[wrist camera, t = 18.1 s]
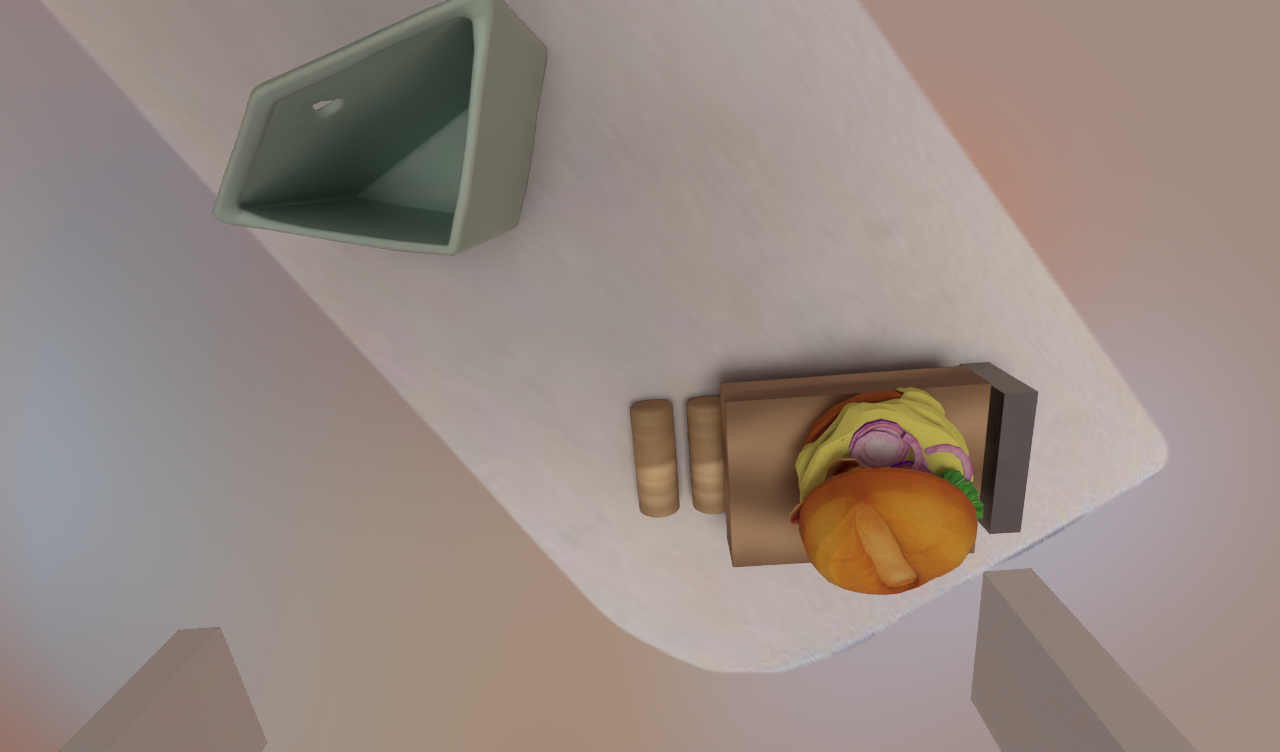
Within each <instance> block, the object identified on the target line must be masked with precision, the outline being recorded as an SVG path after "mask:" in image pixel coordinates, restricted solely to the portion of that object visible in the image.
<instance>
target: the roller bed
mask: <svg viewBox="0 0 1280 752" xmlns="http://www.w3.org/2000/svg"><path fill="white" fill-rule="evenodd" d="M686 405H687V421H688V436H689V451H690V466H691V482H692V497H693V506H694V508H695V509H696V510H698V511H700V512H702V513H707V514H718V513H723V512H726V502H725V480H724V459H723V437H722V416H721V397H719V396H701V397H696V398H693V399H691V400H689V401H688V402H687V404H686ZM630 414H631V424H632V435H633V445H634V455H635V466H636V476H637V486H638V497H639V507H640V511H641V512H642V513H643V514H644V515H646V516H650V517H666V516H669V515H672V514H674V513H675V512H676V511H677V510H678V509H679V507H680V504H679V490H678V477H677V463H676V449H675V436H674V422H673V408H672V404H671V403H670V402H668V401H664V400H645V401H641V402H638V403H636V404H634V405H632V406H631V408H630Z"/></svg>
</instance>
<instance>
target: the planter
mask: <svg viewBox="0 0 1280 752" xmlns="http://www.w3.org/2000/svg"><path fill="white" fill-rule="evenodd" d="M546 59H547V50H546V46H545V44H544V43H543V42H542V41H541V40H540V39H539V38H538V37H537V36H536V35H535V34H534V33H533V32H532V31H531V29H530V28H529V27H528V26H527V25H526V24H525V23H524V22H523V21H522V20H521V19H520V18H519V17H518V16H517V15H516V14H515V12H514V11H513V10H512V9H511V8H510V7H509V6H508V5H507V4H506V3H505V2H504V1H503V0H446V1H444V2H442V3H439V4H437V5H435V6H432V7H430V8H428V9H425V10H423V11H421V12H419V13H416V14H414V15H412V16H410V17H407V18H405V19H403V20H401V21H399V22H397V23H394V24H392V25H390V26H388V27H386V28H384V29H381V30H379V31H377V32H375V33H373V34H371V35H369V36H366V37H364V38H362V39H360V40H358V41H356V42H354V43H351V44H349V45H347V46H345V47H342V48H340V49H338V50H336V51H333V52H331V53H329V54H327V55H325V56H323V57H320V58H318V59H316V60H314V61H311V62H309V63H307V64H304V65H302V66H300V67H298V68H295V69H293V70H291V71H289V72H286V73H284V74H282V75H279V76H277V77H275V78H272V79H270V80H268V81H266V82H264V83H262V84H260V85H258V86H257V87H255V88H254V89H253V91H252V92H251V94H250V97H249V100H248V103H247V107H246V110H245V114H244V117H243V120H242V124H241V127H240V130H239V133H238V136H237V139H236V142H235V145H234V148H233V151H232V154H231V157H230V159H229V162H228V165H227V168H226V171H225V173H224V176H223V179H222V183H221V186H220V189H219V192H218V196H217V199H216V201H215V204H214V208H213V214H214V216H215V217H216V218H217V219H218V220H219V221H221V222H224V223H227V224H232V225H238V226H244V227H252V228H259V229H266V230H272V231H278V232H284V233H291V234H297V235H303V236H309V237H315V238H321V239H327V240H333V241H338V242H344V243H350V244H357V245H363V246H370V247H376V248H382V249H389V250H395V251H405V252H416V253H427V254H438V255H449V256H454V255H456V254H459V253H461V252H463V251H465V250H467V249H469V248H472V247H474V246H476V245H478V244H480V243H483V242H485V241H487V240H489V239H491V238H493V237H495V236H497V235H500V234H502V233H504V232H506V231H508V230H510V229H512V228H514V227H516V226H517V224H518V220H519V216H520V212H521V208H522V204H523V199H524V195H525V191H526V187H527V182H528V175H529V169H530V162H531V156H532V149H533V141H534V134H535V126H536V118H537V111H538V105H539V100H540V94H541V88H542V83H543V77H544V71H545V66H546ZM333 99H334V100H333ZM330 100H333V101H332V102H331V103H329V104H328V105H326V106H325V107H323V108H320V109H317V110H315V109H314V108H313V106H312V105H314V104H316V103H318V102H320V101H330Z"/></svg>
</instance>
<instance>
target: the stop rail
mask: <svg viewBox="0 0 1280 752" xmlns="http://www.w3.org/2000/svg"><path fill="white" fill-rule="evenodd" d="M960 366H965V367H967V368H968V369H970V370H971V371H973V372H974V373H976V374H978V375H979V376H981V377H982V378H984V379H985V380H987V381H988V382H990V383H991V392H990V402H989V411H988V421H987V431H986V441H985V451H984V461H983V471H982V481H981V490H980V501H981V502H982V503H983V504H984V507H983V518H979V519H978V522H979V523H980V524H981V525H982V526H983V527H984V528H985V529H986V530H987V532H988V533H989V534H996V533H1013V532H1020V531H1021V523H1022V515H1023V507H1024V499H1025V491H1026V483H1027V476H1028V468H1029V460H1030V452H1031V444H1032V436H1033V428H1034V421H1035V413H1036V405H1037V397H1038V391H1036V390H1034V389H1033V388H1031V387H1029V386H1028V385H1026V384H1024V383H1023V382H1021V381H1019V380H1018V379H1016V378H1014V377H1013V376H1011V375H1009V374H1008V373H1006V372H1004V371H1002V370H1001V369H999V368H997V367H996V366H994V365H992V364H991V363H989V362H987V363H973V364H960Z"/></svg>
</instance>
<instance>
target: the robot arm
mask: <svg viewBox="0 0 1280 752" xmlns="http://www.w3.org/2000/svg"><path fill="white" fill-rule="evenodd" d="M971 700H972V702H973V704H974V705H975V707H976V709H977V710H978V712H979V714H980V715H981V717H982V719H983V721H984V722H985V724H986V726H987V728H988V729H989V731H990V733H991V734H992V736H993V738H994V739H995V741H996V743H997V744H998V746H999V748H1000V750H1001V752H1198V751H1197V750H1196V749H1195V748H1194V747H1193V746H1192V744H1191V743H1190V742H1189V741H1188V740H1187V739H1186V738H1185V737H1184V736H1183V735H1182V733H1181V732H1180V731H1179V730H1178V729H1177V728H1176V727H1175V726H1174V725H1173V724H1172V722H1171V721H1170V720H1169V719H1168V718H1167V717H1166V716H1165V715H1164V714H1163V713H1162V711H1161V710H1160V709H1159V708H1158V707H1157V706H1156V705H1155V704H1154V703H1153V702H1152V700H1151V699H1150V698H1149V697H1148V696H1147V695H1146V694H1145V693H1144V692H1143V691H1142V690H1141V688H1139V686H1138V685H1137V684H1136V683H1135V682H1134V681H1133V680H1132V679H1131V677H1130V676H1129V675H1128V674H1127V673H1126V672H1125V671H1124V670H1123V669H1122V668H1121V667H1120V665H1119V664H1118V663H1117V662H1116V661H1115V660H1114V659H1113V658H1112V657H1111V655H1109V653H1108V652H1107V651H1106V650H1105V649H1104V648H1103V647H1102V646H1101V644H1099V642H1098V641H1097V640H1096V639H1095V638H1094V637H1093V636H1092V635H1091V633H1090V632H1089V631H1088V630H1087V629H1086V628H1085V627H1084V626H1083V625H1082V624H1081V622H1079V620H1078V619H1077V618H1076V617H1075V616H1074V615H1073V614H1072V613H1071V611H1070V610H1069V609H1068V608H1067V607H1066V606H1065V605H1064V604H1063V603H1062V602H1061V601H1060V599H1059V598H1058V597H1057V596H1056V595H1055V594H1054V593H1053V592H1052V591H1051V590H1050V589H1049V587H1048V586H1047V585H1046V584H1045V583H1044V582H1043V581H1042V580H1041V579H1040V577H1039V576H1038V575H1037V574H1036V573H1035V572H1034V571H1033V570H1032V569H1031V568H1028V569H1014V570H1000V571H986V572H984V573H983V583H982V593H981V603H980V612H979V623H978V633H977V643H976V653H975V663H974V673H973V683H972V692H971ZM266 744H267V740H266V738H265V736H264V733H263V731H262V728H261V726H260V723H259V721H258V719H257V716H256V714H255V711H254V709H253V706H252V704H251V702H250V699H249V696H248V694H247V691H246V689H245V687H244V684H243V682H242V679H241V677H240V675H239V672H238V669H237V667H236V665H235V662H234V660H233V657H232V655H231V652H230V650H229V647H228V645H227V643H226V640H225V637H224V635H223V633H222V630H221V628H220V627H212V628H198V629H185V630H178V631H177V632H176V633H175V634H174V635H173V636H172V637H171V638H170V639H169V640H168V641H167V642H166V643H165V644H164V645H163V646H162V647H161V648H160V649H159V650H158V651H157V652H156V653H155V654H154V655H153V656H152V657H151V658H150V659H149V660H148V661H147V662H146V663H145V664H144V665H143V666H142V667H141V668H140V670H138V671H137V673H135V675H134V676H133V677H132V678H130V680H129V681H128V682H127V683H126V684H125V685H124V686H123V687H122V688H121V689H120V690H119V691H118V692H117V693H116V694H115V695H114V696H113V697H112V698H111V699H110V700H109V701H108V702H107V703H106V704H105V705H104V706H103V707H102V708H101V709H100V710H99V711H98V712H97V713H96V714H95V715H94V716H93V717H92V718H91V719H90V720H89V721H88V722H87V723H86V724H85V725H84V726H83V727H82V728H81V729H80V730H79V731H78V732H77V733H76V734H75V735H74V736H73V737H72V738H71V739H70V740H69V741H68V742H67V743H66V744H65V745H64V746H63V747H62V748H61V749H60V750H59V751H58V752H262V750H263V749H264V747H265V746H266Z"/></svg>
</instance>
